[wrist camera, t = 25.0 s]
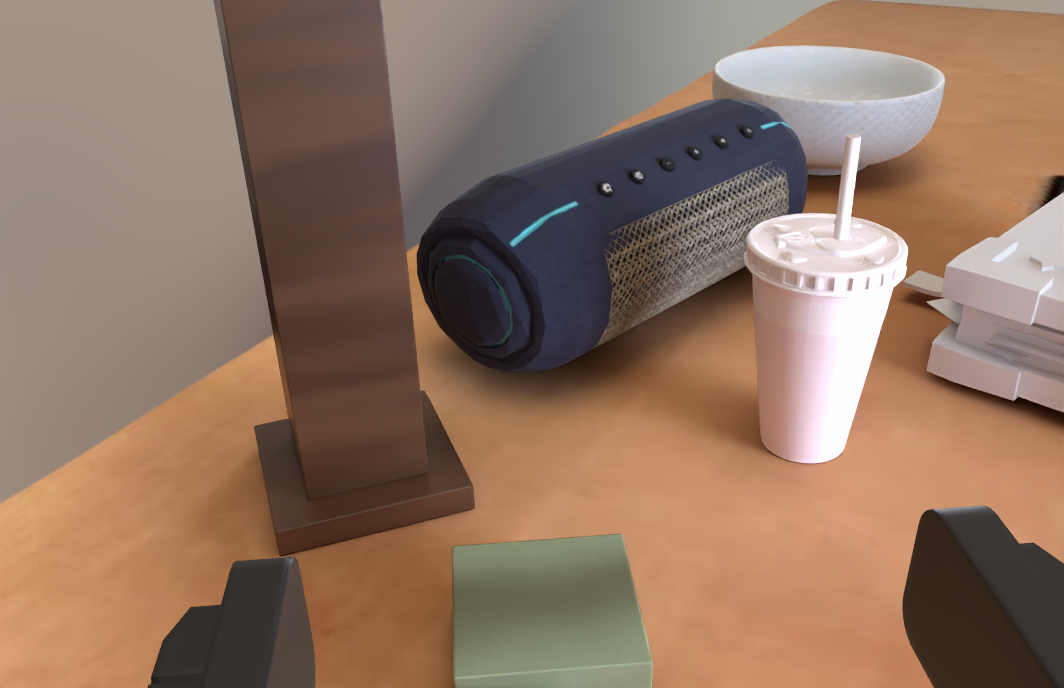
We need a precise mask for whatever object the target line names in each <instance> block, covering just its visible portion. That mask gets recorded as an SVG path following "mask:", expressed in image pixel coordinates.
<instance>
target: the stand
mask: <svg viewBox="0 0 1064 688" xmlns="http://www.w3.org/2000/svg"><path fill="white" fill-rule="evenodd" d="M214 5H215V10H216V16H217V22H218V27H219V33H220V39H221V43H222V50H223V55H224V61H225V66H226V72H227V77H228V83H229V89H230V94H231V100H232V106H233V111H234V117H235V122H236V128H237V133H238V139H239V145H240V150H241V156H242V161H243V167H244V172H245V178H246V184H247V189H248V195H249V201H250V206H251V212H252V217H253V223H254V228H255V234H256V239H257V245H258V251H259V256H260V262H261V268H262V273H263V279H264V284H265V290H266V296H267V300H268V307H269V311H270V318H271V323H272V329H273V335H274V340H275V346H276V351H277V357H278V363H279V368H280V374H281V379H282V385H283V390H284V396H285V402H286V407H287V413H288V418H289V419H285V420H280V421H275V422H270V423H265V424H260V425H256V426H254V430H255V435H256V440H257V445H258V450H259V455H260V460H261V465H262V470H263V475H264V480H265V485H266V490H267V495H268V500H269V505H270V510H271V515H272V520H273V525H274V530H275V535H276V540H277V545H278V550H279V554H280V555H285V554H289V553H293V552H297V551H301V550H306V549H310V548H314V547H318V546H322V545H326V544H330V543H334V542H338V541H342V540H346V539H351V538H355V537H359V536H363V535H367V534H371V533H375V532H379V531H383V530H387V529H392V528H396V527H400V526H404V525H408V524H412V523H416V522H420V521H424V520H428V519H432V518H437V517H441V516H445V515H449V514H453V513H457V512H461V511H465V510H469V509H473V508H474V507H475V504H474V491H473V485H472V483H471V481H470V479H469V477H468V475H467V473H466V471H465V469H464V467H463V465H462V463H461V461H460V459H459V457H458V455H457V453H456V451H455V449H454V447H453V445H452V443H451V441H450V439H449V437H448V435H447V433H446V431H445V429H444V427H443V425H442V423H441V421H440V419H439V417H438V415H437V413H436V411H435V409H434V407H433V405H432V403H431V401H430V399H429V397H428V395H427V393H426V391H420V383H419V373H418V363H417V353H416V343H415V333H414V324H413V314H412V304H411V294H410V284H409V274H408V264H407V254H406V244H405V234H404V225H403V214H402V204H401V194H400V184H399V174H398V164H397V154H396V144H395V134H394V124H393V114H392V104H391V94H390V84H389V75H388V64H387V54H386V45H385V34H384V24H383V14H382V4H381V0H214Z"/></svg>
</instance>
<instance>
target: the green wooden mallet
mask: <svg viewBox="0 0 1064 688" xmlns="http://www.w3.org/2000/svg"><path fill="white" fill-rule="evenodd" d="M452 594H453V681H454V688H652V672H653V661H652V657H651V653H650V649H649V644H648V640H647V636H646V632H645V628H644V623H643V619H642V615H641V611H640V607H639V602H638V598H637V594H636V590H635V586H634V581H633V577H632V573H631V569H630V565H629V560H628V556H627V552H626V548H625V544H624V539H623V536H622V534H612V535H599V536H585V537H571V538H558V539H544V540H531V541H517V542H504V543H490V544H477V545H463V546H453V548H452Z"/></svg>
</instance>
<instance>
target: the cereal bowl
mask: <svg viewBox="0 0 1064 688" xmlns="http://www.w3.org/2000/svg"><path fill="white" fill-rule="evenodd" d="M713 73H714V75H713V86H712V92H713V93H712V94H713V100H716V99H725V98H728V99H739V100H748V101H754V102H756V103H758V104H761V105H763V106H765V107H767V108H769V109H771V110H773V111H775V112H777V113H778V114H779V115H780V116H781V117H782V118H783V120H784V121H785V122H786V123H787V124H788V125H789V126H790V128H791V129H792V130H793V131H794V132H795V134H796V135H797V136H798V138H799V140H800V143H801V146H802V148H803V151H804V153H805V156H806V164H807V173H808V175H825V176H827V175H841V174H842V166H843V158H844V150H845V142H846V135H848V134H858V135H860V136H861V142H860V150H859V158H858V165H857V171H859V170H861V169H863V168H865V167H866V166H867V165H870V164H876V163H879V162H883V161H886V160H890V159H892V158H895V157H898V156H899V155H902V154H904V153H905V152H907V151H909V150H910V149H911V148H913V147H915V146H916V145H918V143H919V142H920V141H922V140H923V138H924V137H925V135H926V134H927V133H928V132H929V131H930V129H931V128H932V126H933V124H934V122H935V120H936V117H937V115H938V112H939V109H940V105H941V101H942V98H943V92H944V88H945V77H944V75H943V73H942V72H941V71H940V70H938V69H937V68H935V67H933V66H931V65H929V64H927V63H924V62H922V61H918V60H915V59H911V58H907V57H904V56H899V55H894V54H889V53H884V52H878V51H871V50H864V49H855V48H845V47H829V46H778V47H766V48H758V49H752V50H747V51H742V52H739V53H735V54H732V55H729V56H727V57H725V58H723V59H722V60H720V61H719V62H718V63H717V64H716V66H715V68H714V72H713Z"/></svg>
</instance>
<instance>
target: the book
mask: <svg viewBox="0 0 1064 688" xmlns="http://www.w3.org/2000/svg"><path fill="white" fill-rule="evenodd" d="M902 286H904V287H907V288H909V289H912V290H915V291H918V292H921V293H924V294H928V295H931V296H936V297H945V298H944V299H938V300H932V301H926V302H927V303H928V304H930V305H931V306H933V307H934V308H936V309H937V310H939V311H940V312H941V313H943V314H944V315H946V316H947V317H949V318H950V319H951V320H953V321H954V322H952V323H951V324H950V325H949V326H947V327H946V328H945V329H943V330H942V332H941V333H940V334H939V335H938V336H937V338H936V339H935V340H934V341H933V342H932V347H931V352H930V356H929V361H928V365H927V370H926V371H928V372H931V373H933V374H936V375H938V376H940V377H943V378H945V379H948V380H950V381H952V382H955V383H958V384H962V385H965V386H968V387H971V388H974V389H977V390H981V391H984V392H987V393H990V394H993V395H996V396H1000V397H1003V398H1006V399H1009V400H1012V401H1014V400H1015V399H1016V398H1018V397H1021V398H1024V399H1027V400H1030V401H1032V402H1035V403H1038V404H1041V405H1044V406H1047V407H1049V408H1052V409H1055V410H1058V411H1061V412H1064V192H1063V193H1062V194H1060V195H1059V196H1058V197H1056V198H1055V199H1053V200H1052V201H1050V202H1049V203H1047V204H1046V205H1045V206H1043V207H1042V208H1040V209H1039V210H1037V211H1036V212H1034V213H1033V214H1032V215H1030V216H1029V217H1027V218H1026V219H1024V220H1023V221H1021V222H1020V223H1019V224H1017V225H1016V226H1014V227H1013V228H1011V229H1010V230H1008V231H1007V232H1006V233H1004V234H1003V235H1001V236H1000V237H998V238H993V237H988V238H987V239H985V240H983V241H981V242H980V243H978V244H976V245H975V246H973V247H971V248H969V249H968V250H966V251H964V252H963V253H961V254H959V255H958V256H957V257H956V258H955V259H953V260H952V261H951V262H950V263H948V264H947V265H946V269H945V276H944V278H941V277H938V276H935V275H932V274H929V273H926V272H923V271H920V270H919V271H917V272H916V273H914V274H913V275H911V276H910V277H908V278H907V279H905V280H904V281H903V283H902Z"/></svg>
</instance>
